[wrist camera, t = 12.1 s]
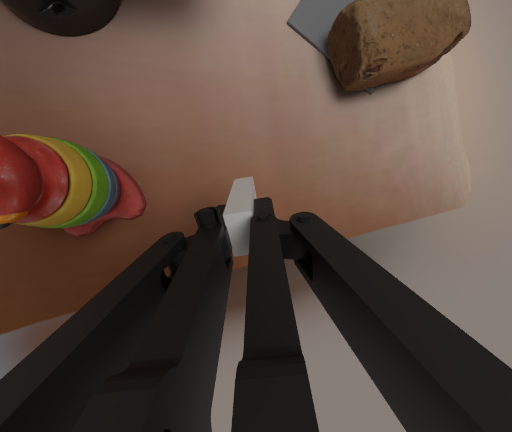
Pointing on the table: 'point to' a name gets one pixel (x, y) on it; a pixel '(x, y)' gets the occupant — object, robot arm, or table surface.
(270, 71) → the table surface
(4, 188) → the stacking bear
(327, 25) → the mat
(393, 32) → the block
